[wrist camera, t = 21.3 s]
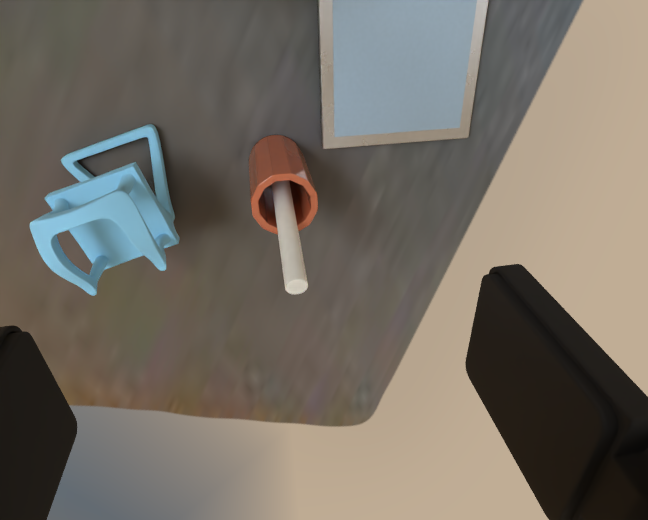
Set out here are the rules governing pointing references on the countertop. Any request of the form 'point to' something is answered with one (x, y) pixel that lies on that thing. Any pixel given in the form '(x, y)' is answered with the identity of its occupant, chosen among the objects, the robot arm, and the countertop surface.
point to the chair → (108, 214)
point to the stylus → (289, 239)
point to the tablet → (397, 69)
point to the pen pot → (280, 165)
